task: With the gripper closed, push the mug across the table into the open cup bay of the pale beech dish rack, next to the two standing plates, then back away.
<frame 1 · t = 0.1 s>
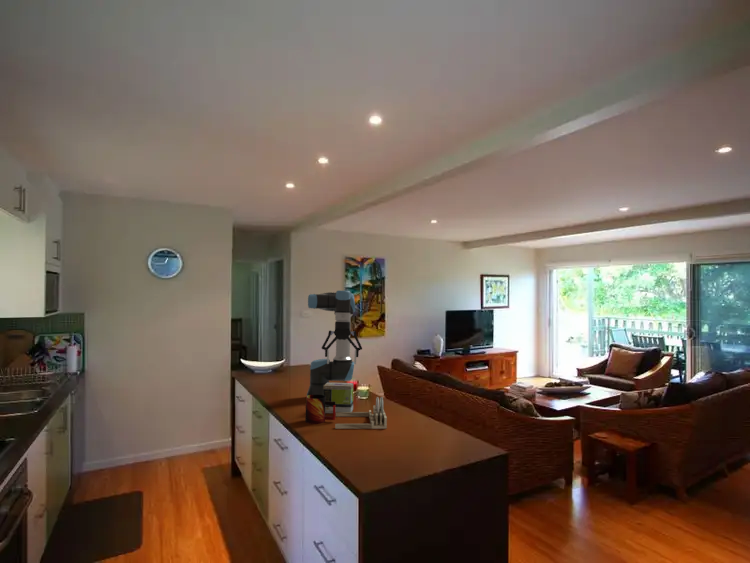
hand: (341, 363, 210), 28 cm above the countertop, fingers open, 13 cm apart
tea box: (338, 412, 226), on the countertop
dish rack: (360, 422, 207), on the countertop
mug: (319, 421, 207), on the countertop
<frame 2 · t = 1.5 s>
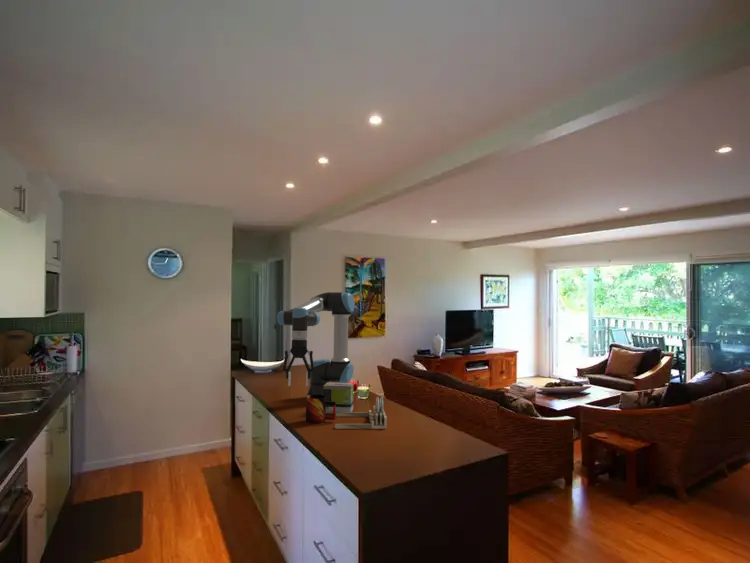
hand: (298, 385, 208), 17 cm above the countertop, fingers open, 8 cm apart
nothing on the countertop moved.
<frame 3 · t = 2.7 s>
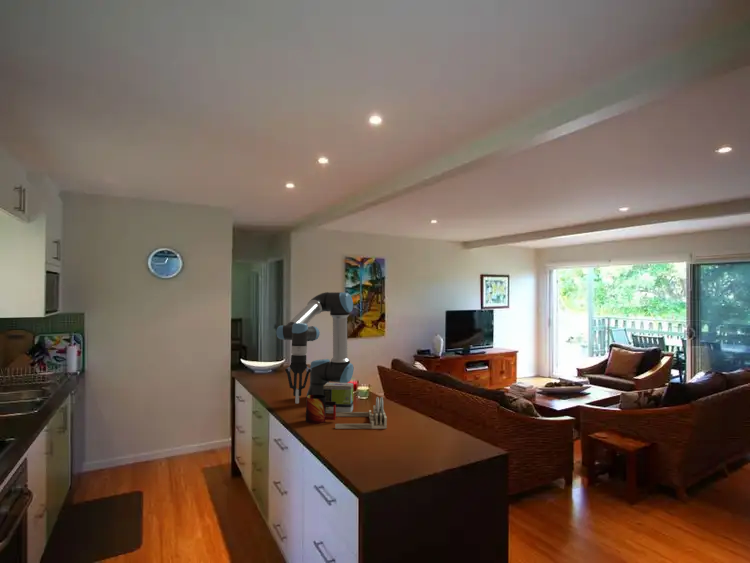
hand: (297, 402, 207), 9 cm above the countertop, fingers closed
nothing on the countertop moved.
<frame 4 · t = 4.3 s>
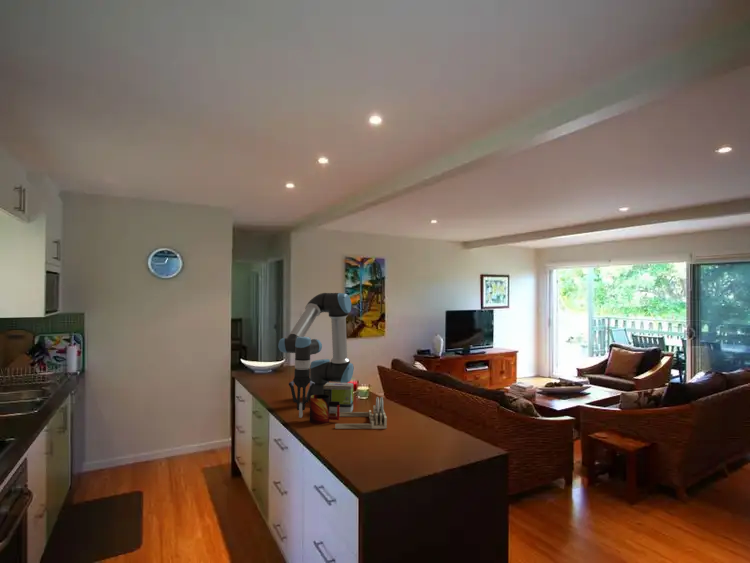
hand: (300, 416, 207), 2 cm above the countertop, fingers closed
mug: (323, 421, 207), on the countertop, touching hand
everything else where it was.
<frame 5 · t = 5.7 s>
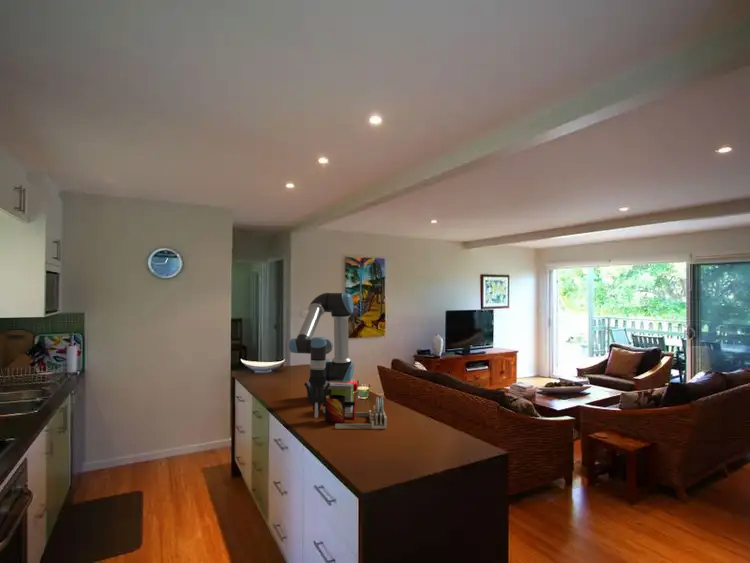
hand: (316, 416, 207), 2 cm above the countertop, fingers closed
mug: (338, 421, 207), on the countertop, touching hand
everything else where it was.
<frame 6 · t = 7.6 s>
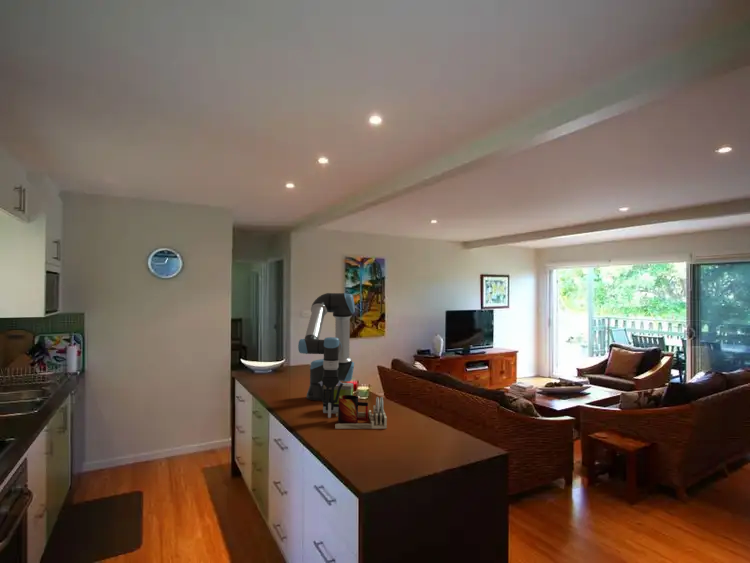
hand: (329, 416, 208), 2 cm above the countertop, fingers closed
mug: (352, 422, 207), on the countertop, touching hand
everything else where it was.
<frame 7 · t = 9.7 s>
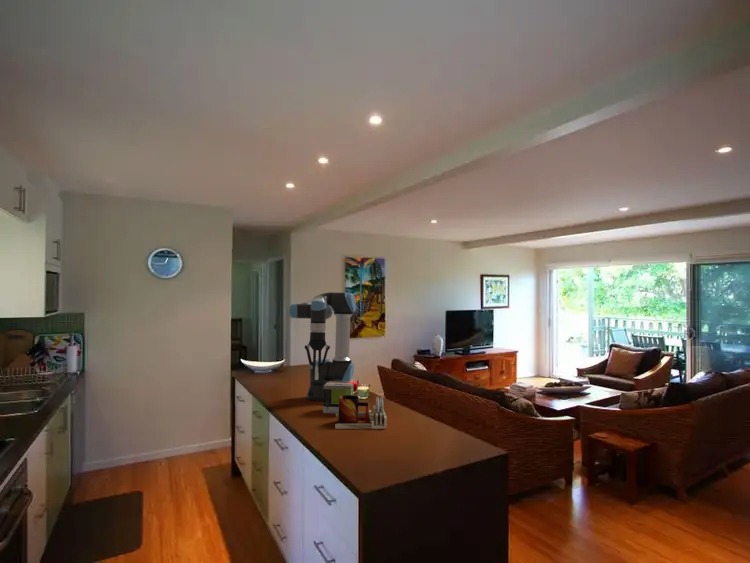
hand: (316, 379, 208), 20 cm above the countertop, fingers closed
mug: (352, 422, 207), on the countertop
everything else where it was.
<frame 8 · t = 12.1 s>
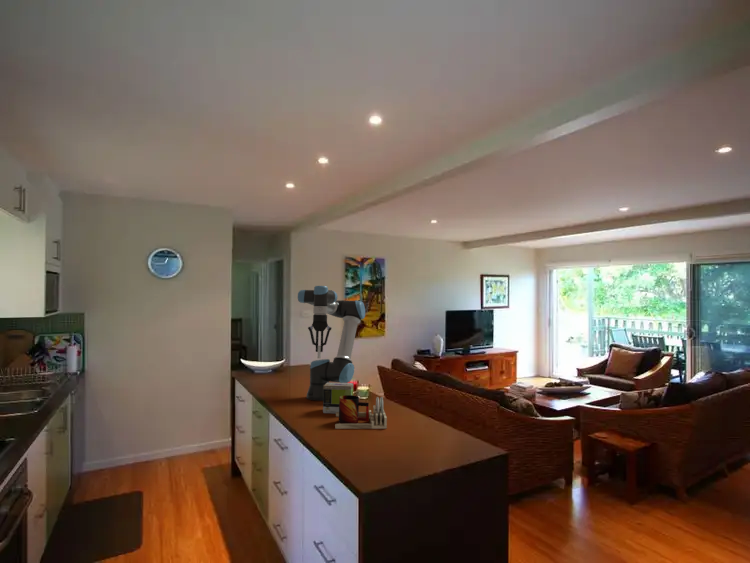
hand: (319, 358, 227), 28 cm above the countertop, fingers closed
nothing on the countertop moved.
at the end: mug inside the target area on the dish rack (0.5 cm from its centre), point 0.0 cm above the dish rack's base; mug tilted 0°; mug moved 16.5 cm from its start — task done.
